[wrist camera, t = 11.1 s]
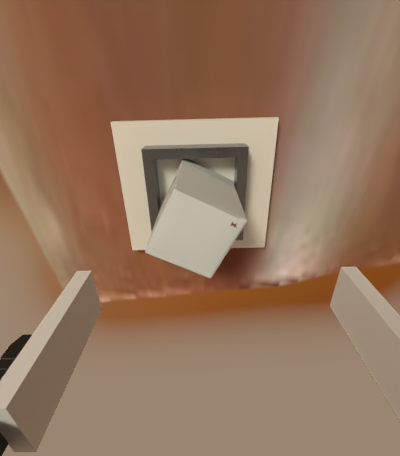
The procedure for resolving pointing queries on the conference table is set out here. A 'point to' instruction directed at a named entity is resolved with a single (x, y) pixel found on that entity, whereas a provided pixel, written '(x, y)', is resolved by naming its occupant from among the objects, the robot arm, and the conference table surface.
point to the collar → (192, 152)
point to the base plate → (198, 134)
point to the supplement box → (197, 220)
